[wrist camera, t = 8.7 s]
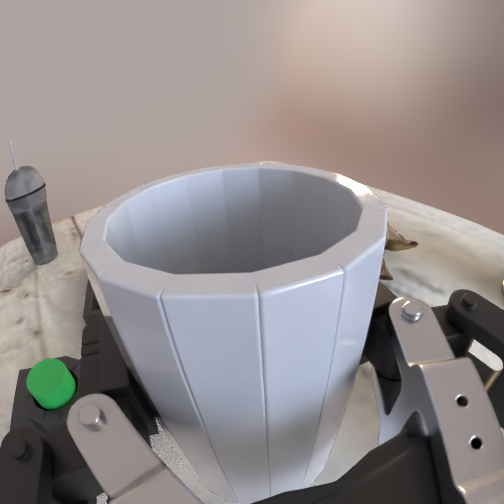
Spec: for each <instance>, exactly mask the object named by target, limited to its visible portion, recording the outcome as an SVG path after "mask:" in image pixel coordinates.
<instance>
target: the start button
mask: <svg viewBox="0 0 504 504" xmlns="http://www.w3.org/2000/svg"><path fill="white" fill-rule="evenodd" d="M26 383H27V388H28V390H29V391H30V393H31V394H32V395H33V396H34V398H35V399H36V400H37V401H38V402H39V404H40V405H41V406H42V407H44V408H46V409H49V410H57V409H60V408H62V407H63V406H65V405H66V404H68V403H69V402H70V401H71V400H72V398H73V397H74V395H75V392H76V382H75V380H74V378H73V377H72V375H71V374H70V372H69V371H68V369H67V368H66V366H65V364H64V363H63V362H62V361H60V360H58V359H46V360H43V361H41V362H39V363H37V364H36V365H35V366H34V367H33V368H32V369H31V370H30V372H29V374H28V376H27V381H26Z"/></svg>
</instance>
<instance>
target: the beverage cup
mask: <svg viewBox="0 0 504 504" xmlns="http://www.w3.org/2000/svg"><path fill="white" fill-rule="evenodd" d="M8 144H9V148H10V151H11V155H12V159H13V162H14V166H15V170H14V171H13V172H12V173H11V174H10V175H9V177H8V179H7V181H6V185H5V197H6V202H7V204H8V206H9V208H10V210H11V212H12V213H13V216H14V218H15V221H16V223H17V225H18V228H19V230H20V232H21V235H22V237H23V239H24V242H25V244H26V246H27V248H28V250H29V252H30V254H31V256H32V258H33V259H34V262H35V263H36V264H37V265H42V264H45V263H48V262H50V261H52V260H53V259H54V258H55V257H56V256H57V255H58V252H57V248H56V242H55V238H54V234H53V230H52V226H51V221H50V217H49V212H48V207H47V202H46V189H45V186H46V185H45V182H44V180H43V178H42V176H41V174H40V173H39V172H38V171H37V170H36V169H34V168H33V167H30V166H23V167H20V168H18V165H17V161H16V158H15V154H14V150H13V147H12V143H11V141H10V142H8Z"/></svg>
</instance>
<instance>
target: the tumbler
mask: <svg viewBox="0 0 504 504" xmlns="http://www.w3.org/2000/svg"><path fill="white" fill-rule="evenodd" d="M387 223H388V210H387V208H386V207H385V206H384V204H383V203H382V202H381V201H380V200H379V199H378V198H377V196H376V195H375V194H374V193H373V192H372V191H371V190H370V189H368V188H367V187H365V186H363V185H361V184H359V183H357V182H355V181H352V180H351V179H348V178H346V177H344V176H342V175H339V174H336V173H332V172H328V171H323V170H319V169H314V168H310V167H305V166H299V165H286V164H271V163H262V164H261V163H251V164H233V165H222V166H214V167H208V168H202V169H196V170H191V171H186V172H182V173H178V174H174V175H171V176H168V177H164V178H161V179H158V180H156V181H152V182H149V183H146V184H144V185H141V186H139V187H137V188H135V189H134V190H132V191H130V192H128V193H126V194H124V195H122V196H120V197H118V198H116V199H114V200H113V201H111V202H110V203H108V204H107V205H106V206H105V207H104V208H103V209H102V210H101V211H100V212H98V213H97V214H96V215H95V216H94V217H93V218H92V219H91V220H90V221H89V222H88V224H87V225H86V227H85V231H84V234H83V237H82V241H81V244H80V248H79V251H80V255H81V258H82V261H83V264H84V267H85V270H86V272H87V275H88V278H89V280H90V283H91V286H92V288H93V291H94V293H95V296H96V298H97V301H98V303H99V306H100V308H101V311H102V313H103V315H104V318H105V320H106V322H107V324H108V327H109V329H110V331H111V333H112V336H113V338H114V340H115V342H116V344H117V346H118V348H119V350H120V353H121V355H122V357H123V359H124V361H125V363H126V365H127V367H128V369H129V371H130V373H131V374H132V376H133V378H134V380H135V382H136V384H137V386H138V388H139V389H140V391H141V393H142V395H143V397H144V398H145V400H146V402H147V404H148V406H149V407H150V409H151V411H152V412H153V414H154V416H155V417H156V419H157V421H158V422H159V424H160V426H161V427H162V429H163V431H164V432H165V434H166V435H167V437H168V438H169V440H170V442H171V443H172V445H173V446H174V448H175V449H176V451H177V452H178V454H179V455H180V457H181V458H182V460H183V461H184V462H185V464H186V465H187V467H188V468H189V470H190V471H191V472H192V473H193V474H194V475H195V476H196V478H197V479H198V480H199V481H200V483H201V484H202V485H204V486H205V487H206V488H207V489H208V490H209V491H211V492H212V493H214V494H215V495H217V496H219V497H221V498H223V499H225V500H228V501H231V502H234V503H238V504H251V503H254V502H257V501H260V500H263V499H266V498H269V497H272V496H274V495H277V494H280V493H282V492H286V491H292V490H298V489H304V488H307V487H309V486H310V485H311V484H312V483H313V482H314V481H315V480H316V478H317V477H318V476H319V474H320V473H321V471H322V470H323V469H324V467H325V464H326V462H327V459H328V457H329V454H330V451H331V449H332V446H333V444H334V441H335V438H336V435H337V433H338V430H339V427H340V424H341V421H342V418H343V415H344V412H345V409H346V406H347V403H348V400H349V397H350V394H351V390H352V387H353V384H354V381H355V377H356V374H357V370H358V367H359V363H360V359H361V356H362V352H363V348H364V344H365V340H366V336H367V332H368V328H369V324H370V320H371V315H372V311H373V306H374V302H375V297H376V292H377V287H378V282H379V277H380V271H381V266H382V260H383V254H384V248H385V241H386V233H387Z"/></svg>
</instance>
